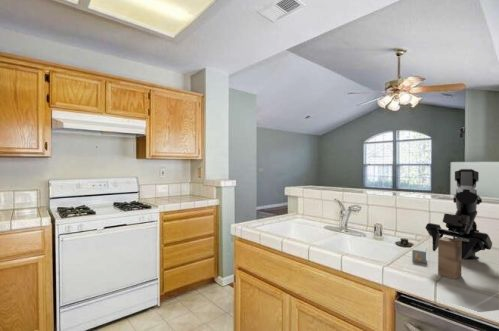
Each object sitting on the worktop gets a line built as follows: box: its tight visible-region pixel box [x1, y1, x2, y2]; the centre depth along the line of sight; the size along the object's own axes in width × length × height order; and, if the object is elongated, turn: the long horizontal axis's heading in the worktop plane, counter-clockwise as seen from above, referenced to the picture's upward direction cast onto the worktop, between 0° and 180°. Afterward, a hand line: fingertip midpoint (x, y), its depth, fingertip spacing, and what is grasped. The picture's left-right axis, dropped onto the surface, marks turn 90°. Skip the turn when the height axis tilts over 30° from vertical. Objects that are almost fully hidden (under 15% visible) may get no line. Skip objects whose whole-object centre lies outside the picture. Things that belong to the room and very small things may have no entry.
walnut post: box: [437, 236, 463, 280], centre depth 94 cm, size 5×5×12 cm
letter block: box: [411, 246, 427, 264], centre depth 108 cm, size 5×4×4 cm
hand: (447, 254), depth 93 cm, fingers open, 9 cm apart
